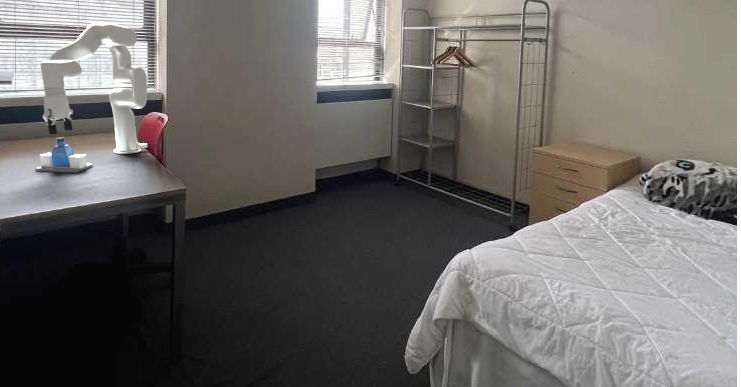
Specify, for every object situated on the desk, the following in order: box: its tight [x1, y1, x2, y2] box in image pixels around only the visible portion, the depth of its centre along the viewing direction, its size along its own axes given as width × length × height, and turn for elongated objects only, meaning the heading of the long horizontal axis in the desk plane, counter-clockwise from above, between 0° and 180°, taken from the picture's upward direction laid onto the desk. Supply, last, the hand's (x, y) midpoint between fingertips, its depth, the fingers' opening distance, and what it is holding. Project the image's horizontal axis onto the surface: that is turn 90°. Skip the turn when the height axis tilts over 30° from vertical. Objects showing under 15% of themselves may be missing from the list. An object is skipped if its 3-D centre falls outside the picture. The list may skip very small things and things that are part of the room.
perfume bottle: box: [50, 136, 75, 167], centre depth 230 cm, size 6×6×12 cm
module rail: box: [34, 152, 94, 174], centre depth 231 cm, size 18×12×6 cm, turn 83°
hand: (61, 132), depth 228 cm, fingers open, 9 cm apart
